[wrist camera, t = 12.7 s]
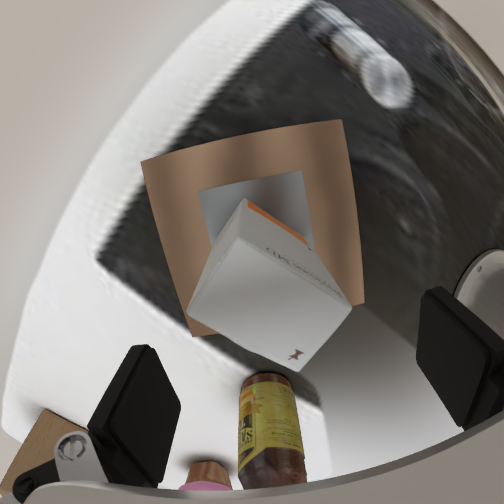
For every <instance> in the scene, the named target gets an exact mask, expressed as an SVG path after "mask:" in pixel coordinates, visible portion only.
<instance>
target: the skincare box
mask: <svg viewBox="0 0 504 504" xmlns="http://www.w3.org/2000/svg"><path fill="white" fill-rule="evenodd" d="M351 310H352V306H351V304H350V303H349V301H348V300H347V298H346V297H345V295H344V294H343V292H342V291H341V289H340V287H339V286H338V284H337V283H336V281H335V280H334V279H333V277H332V275H331V274H330V272H329V271H328V269H327V268H326V266H325V265H324V264H323V262H322V261H321V259H320V258H319V256H318V255H317V254H316V252H315V251H314V249H313V248H312V246H311V245H310V243H309V242H308V240H307V239H306V238H305V237H304V236H302V235H301V234H299V233H297V232H296V231H294V230H293V229H291V228H290V227H288V226H286V225H285V224H283V223H282V222H280V221H279V220H277V219H275V218H274V217H272V216H271V215H269V214H268V213H267V212H265V211H264V210H262V209H261V208H259V207H258V206H256V205H255V204H253V203H252V202H250V201H249V200H247V199H246V198H243V199H242V201H241V202H240V204H239V205H238V207H237V208H236V210H235V211H234V213H233V214H232V215H231V217H230V218H229V220H228V221H227V223H226V224H225V226H224V228H223V229H222V231H221V232H220V234H219V235H218V237H217V238H216V240H215V242H214V245H213V247H212V250H211V252H210V254H209V257H208V259H207V262H206V265H205V267H204V269H203V272H202V275H201V277H200V279H199V282H198V284H197V287H196V289H195V292H194V294H193V296H192V299H191V301H190V303H189V305H188V308H187V310H186V312H187V314H188V315H189V316H190V317H192V318H193V319H195V320H197V321H199V322H200V323H202V324H204V325H206V326H207V327H209V328H211V329H213V330H215V331H216V332H218V333H220V334H222V335H224V336H226V337H227V338H229V339H230V340H232V341H233V342H234V343H236V344H238V345H240V346H241V347H243V348H245V349H247V350H249V351H251V352H254V353H257V354H260V355H262V356H264V357H266V358H268V359H270V360H272V361H275V362H277V363H279V364H281V365H283V366H285V367H287V368H289V369H291V370H294V371H296V372H299V371H300V370H301V369H302V368H303V367H304V366H305V364H306V363H307V362H308V361H309V360H310V359H311V358H312V356H313V355H314V354H315V353H316V352H317V351H318V350H319V349H320V347H321V346H322V345H323V344H324V343H325V342H326V341H327V339H328V338H329V337H330V336H331V335H332V334H333V333H334V331H335V330H336V329H337V328H338V327H339V326H340V324H341V323H342V322H343V321H344V319H345V318H346V317H347V315H348V314H349V313H350V311H351Z"/></svg>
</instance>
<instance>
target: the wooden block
mask: <svg viewBox="0 0 504 504" xmlns="http://www.w3.org/2000/svg"><path fill="white" fill-rule="evenodd" d="M73 431H81V432H84V433H86V434H88V432H89V431H87V430H85V429H83V428H81V427H79V426H77V425H75V424H73V423H71V422H69V421H67V420H65V419H63V418H61V417H59V416H57V415H55V414H54V413H52V412H50V411H48V410H44V411H43V412H42V413H41V415H40V416H39V418H38V420H37V421H36V423H35V424H34V426H33V428H32V429H31V431H30V433H29V434H28V436H27V438H26V439H25V441H24V443H23V444H22V446H21V448H20V450H19V451H18V453H17V455H16V457H15V458H14V460H13V462H12V464H11V465H10V467H9V469H8V471H7V473H6V475H5V476H4V478H3V480H2V482H1V484H0V494H1V495H2V496H4V495H5V494H7V493H8V492H10V493H12V494H13V491H12V487H13V483H14V481H15V480H16V478H17V477H18V476H19V475H21V474H22V473H24V472H26V471H28V470H31V469H33V468H35V467H37V466H39V465H41V464H44V463H46V462H48V461H50V460H52V459H54V448H55V445H56V443H57V442H58V440H59V439H60V438H61V437H62V436H64V435H65V434H67V433H70V432H73Z"/></svg>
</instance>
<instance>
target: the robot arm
mask: <svg viewBox="0 0 504 504" xmlns="http://www.w3.org/2000/svg"><path fill="white" fill-rule="evenodd" d="M416 360H417V364H418V366H419V367H420V368H421V370H422V372H423V373H424V375H425V376H426V378H427V379H428V381H429V382H430V384H431V385H432V387H433V388H434V390H435V391H436V393H437V394H438V396H439V398H440V399H441V401H442V402H443V404H444V405H445V407H446V409H447V410H448V412H449V413H450V415H451V417H452V418H453V420H454V422H455V423H456V425H457V426H458V427H461V426H462V428H463V429H464V432H462V433H460V434H458V435H456V436H454V437H452V438H449V439H448V440H445V441H443V442H441V443H439V444H436V445H434V446H431V447H429V448H427V449H424V450H422V451H419V452H417V453H414V454H412V455H409V456H406V457H403V458H401V459H398V460H395V461H392V462H389V463H386V464H382V465H379V466H376V467H372V468H369V469H366V470H362V471H359V472H355V473H351V474H346V475H342V476H338V477H333V478H329V479H324V480H319V481H313V482H308V483H302V484H295V485H288V486H281V487H272V488H262V489H249V490H230V491H190V490H171V489H157V487H158V483H161V482H162V481H163V478H164V474H165V470H166V466H167V462H168V458H169V454H170V450H171V446H172V442H173V438H174V434H175V430H176V426H177V422H178V419H179V415H180V411H181V404H180V401H179V399H178V397H177V395H176V393H175V391H174V389H173V387H172V385H171V383H170V381H169V378H168V376H167V374H166V372H165V370H164V368H163V366H162V364H161V361H160V359H159V357H158V355H157V353H156V351H155V349H154V348H151V347H150V346H149V345H147V344H144V345H134V346H132V347H131V348H130V350H129V351H128V353H127V355H126V357H125V358H124V360H123V362H122V363H121V365H120V367H119V369H118V370H117V372H116V374H115V376H114V377H113V379H112V381H111V383H110V384H109V386H108V388H107V390H106V392H105V393H104V395H103V397H102V399H101V401H100V402H99V404H98V406H97V408H96V410H95V412H94V413H93V415H92V417H91V419H90V421H89V423H88V425H87V427H88V429H89V432H88V434H86V433H84V432H81V431H73V432H70V433H67V434H65V435H64V436H62V437H61V438H60V439H59V440H58V442H57V443H56V445H55V448H54V459H52V460H50V461H48V462H46V463H44V464H41V465H39V466H37V467H35V468H33V469H31V470H28V471H26V472H24V473H22V474H21V475H19V476H18V477H17V478H16V480H15V481H14V483H13V487H12V491H13V494H12V493H10V492H8V493H7V494H5V495H4V496H3V497H2V498H1V499H0V504H504V251H503V250H501V249H491V250H488V251H486V252H484V253H483V254H481V255H480V256H479V257H478V258H477V259H475V260H474V261H473V263H472V264H471V265H470V266H469V267H468V269H467V270H466V272H465V273H464V275H463V276H462V278H461V280H460V282H459V284H458V286H457V289H456V291H455V293H454V296H453V295H452V294H450V293H449V292H448V291H447V290H445V289H444V288H443V287H441V286H438V287H435V288H432V289H428V290H426V291H425V294H424V295H423V296H422V297H421V308H420V322H419V333H418V343H417V351H416Z"/></svg>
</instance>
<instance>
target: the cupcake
mask: <svg viewBox="0 0 504 504" xmlns="http://www.w3.org/2000/svg"><path fill="white" fill-rule="evenodd" d="M178 490H190V491H230V490H233V489H232V486H231V482H230V479H229V476H228V473H227V470H226V469H225V468H223V467H222V466H221V465H220V464H218V463H217V462H214V461H207V462H197V463H193V464H192V466H191V468H190V471H189V474H188V477H187V480H186V483H185V485H182V486H181V487H180V488H179V489H178Z"/></svg>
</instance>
